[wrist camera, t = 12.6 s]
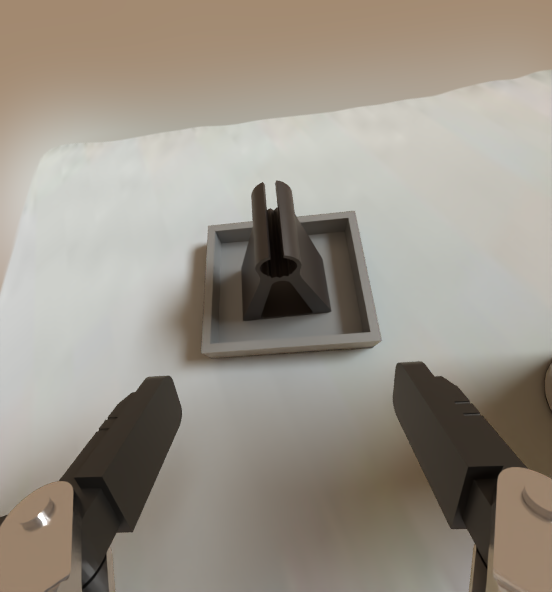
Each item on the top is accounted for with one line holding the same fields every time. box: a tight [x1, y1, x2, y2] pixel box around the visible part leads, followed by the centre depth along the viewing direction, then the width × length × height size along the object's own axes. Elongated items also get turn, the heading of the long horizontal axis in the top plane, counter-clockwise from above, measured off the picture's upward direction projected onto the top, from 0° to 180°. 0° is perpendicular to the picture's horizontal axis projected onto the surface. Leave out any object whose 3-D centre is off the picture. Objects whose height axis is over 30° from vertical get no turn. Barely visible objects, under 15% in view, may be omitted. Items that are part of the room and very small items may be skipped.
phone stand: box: [241, 180, 331, 321], centre depth 22 cm, size 9×6×12 cm, turn 94°
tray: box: [201, 211, 382, 358], centre depth 27 cm, size 16×14×3 cm
